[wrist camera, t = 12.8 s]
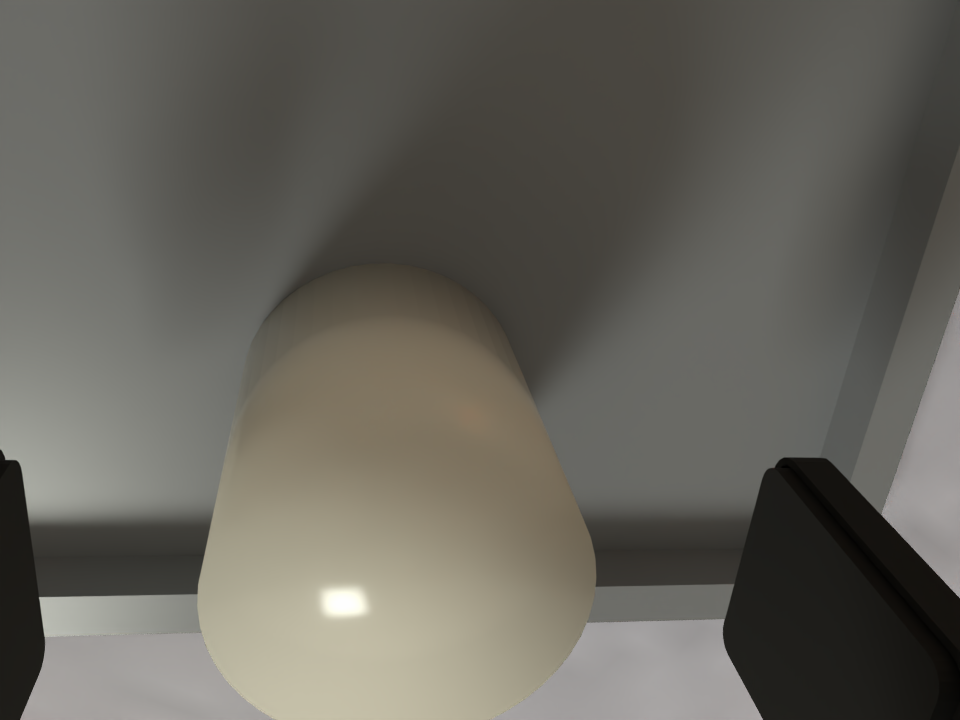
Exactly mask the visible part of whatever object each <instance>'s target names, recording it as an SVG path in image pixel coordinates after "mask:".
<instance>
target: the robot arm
mask: <svg viewBox="0 0 960 720" xmlns="http://www.w3.org/2000/svg"><path fill="white" fill-rule="evenodd" d="M723 638H724V644H725V648H726V651H727V653H728V655H729V657H730V659H731V661H732V663H733V665H734V666H735V668H736V670H737V672H738V674H739V676H740V677H741V679H742V681H743V683H744V685H745V687H746V689H747V690H748V692H749V694H750V696H751V698H752V700H753V702H754V703H755V705H756V707H757V709H758V711H759V713H760V714H761V716H762V718H763V720H960V598H959V597H958V596H957V595H956V594H955V593H954V592H953V591H952V590H951V589H950V588H949V586H948V585H947V584H946V583H945V582H944V581H943V580H942V579H941V578H940V577H939V576H938V575H937V574H936V573H935V572H934V571H933V569H932V568H931V567H930V566H929V565H928V564H927V563H926V562H925V561H924V560H923V559H922V558H921V557H920V556H919V555H918V554H917V553H916V551H915V550H914V549H913V548H912V547H911V546H910V545H909V544H908V543H907V542H906V541H905V540H904V539H903V538H902V537H901V536H900V534H899V533H898V532H897V531H896V530H895V529H894V528H893V527H892V526H891V525H890V524H889V523H888V522H887V521H886V520H885V519H884V518H883V516H882V515H881V514H880V513H879V512H878V511H877V510H876V509H875V508H874V507H873V506H872V505H871V504H870V503H869V502H868V501H867V500H866V498H865V497H864V496H863V495H862V494H861V493H860V492H859V491H858V490H857V489H856V488H855V487H854V486H853V485H852V484H851V483H850V481H849V480H848V479H847V478H846V477H845V476H844V475H843V474H842V473H841V472H840V471H839V470H838V469H837V468H836V467H835V466H834V465H833V463H832V462H830V461H829V460H828V459H826V458H805V457H784V458H782V459H780V460H779V461H778V462H777V464H776V465H775V468H769V469H767V470H766V472H765V473H764V475H763V478H762V481H761V485H760V489H759V493H758V496H757V500H756V504H755V508H754V511H753V515H752V519H751V523H750V527H749V530H748V534H747V538H746V542H745V545H744V549H743V553H742V557H741V561H740V564H739V568H738V572H737V576H736V579H735V583H734V587H733V591H732V595H731V598H730V602H729V606H728V610H727V613H726V617H725V621H724V626H723ZM44 651H45V636H44V629H43V622H42V614H41V607H40V599H39V592H38V585H37V577H36V570H35V563H34V555H33V548H32V541H31V533H30V526H29V519H28V511H27V504H26V497H25V489H24V482H23V475H22V469H21V466H20V464H19V462H18V461H17V460H5V456H4V454H3V452H2V450H0V720H20V718H21V716H22V713H23V711H24V709H25V706H26V704H27V702H28V699H29V697H30V694H31V692H32V690H33V687H34V685H35V683H36V680H37V678H38V675H39V673H40V670H41V667H42V663H43V659H44Z"/></svg>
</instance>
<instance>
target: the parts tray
mask: <svg viewBox="0 0 960 720" xmlns="http://www.w3.org/2000/svg"><path fill="white" fill-rule="evenodd" d="M383 263H391V264H400V265H409V266H413V267H418V268H422V269H426V270H429V271H432V272H435V273H437V274H440V275H443V276H445V277H447V278H449V279H451V280H452V281H454V282H456V283H458V284H460V285H461V286H463V287H464V288H466V289H467V290H468V291H470V292H471V293H473V294H474V295H475V296H476V297H477V298H478V299H479V300H480V301H482V302H483V303H484V304H485V305H486V306H487V307H488V309H489V310H490V311H491V312H492V314H493V315H494V316H495V317H496V319H497V320H498V322H499V323H500V325H501V327H502V328H503V330H504V332H505V334H506V336H507V338H508V341H509V343H510V345H511V348H512V350H513V352H514V355H515V357H516V360H517V362H518V364H519V367H520V369H521V372H522V374H523V376H524V379H525V381H526V383H527V386H528V388H529V391H530V393H531V395H532V398H533V400H534V403H535V405H536V407H537V410H538V412H539V414H540V417H541V419H542V422H543V424H544V426H545V429H546V431H547V434H548V436H549V438H550V441H551V443H552V445H553V448H554V450H555V453H556V455H557V457H558V460H559V462H560V465H561V467H562V469H563V472H564V474H565V476H566V479H567V481H568V484H569V486H570V488H571V491H572V493H573V496H574V498H575V500H576V503H577V505H578V507H579V510H580V512H581V515H582V517H583V519H584V522H585V524H586V527H587V529H588V532H589V534H590V537H591V540H592V545H593V549H594V554H595V560H596V586H595V595H594V600H593V604H592V608H591V611H590V615H589V618H588V621H587V623H590V622H628V621H667V620H705V619H725V617H726V613H727V610H728V606H729V602H730V598H731V595H732V591H733V587H734V583H735V579H736V576H737V572H738V568H739V564H740V561H741V557H742V553H743V549H744V545H745V542H746V538H747V534H748V530H749V527H750V523H751V519H752V515H753V511H754V508H755V504H756V500H757V496H758V493H759V489H760V485H761V481H762V478H763V475H764V473H765V472H766V470H767V469H769V468H775V465H776V464H777V462H778V461H779V460H780V459H782V458H784V457H805V458H826V459H828V460H829V461H830V462H832V463H833V465H834V466H835V467H836V468H837V469H838V470H839V471H840V472H841V473H842V474H843V475H844V476H845V477H846V478H847V479H848V480H849V481H850V483H851V484H852V485H853V486H854V487H855V488H856V489H857V490H858V491H859V492H860V493H861V494H862V495H863V496H864V497H865V498H866V500H867V501H868V502H869V503H870V504H871V505H872V506H873V507H874V508H875V509H876V510H877V511H878V512H879V513H880V514H881V513H882V510H883V507H884V504H885V502H886V499H887V496H888V493H889V490H890V487H891V484H892V482H893V479H894V476H895V473H896V470H897V467H898V464H899V461H900V459H901V456H902V453H903V450H904V447H905V444H906V441H907V438H908V436H909V433H910V430H911V427H912V424H913V421H914V418H915V416H916V413H917V410H918V407H919V404H920V401H921V398H922V395H923V393H924V390H925V387H926V384H927V381H928V378H929V375H930V373H931V370H932V367H933V364H934V361H935V358H936V355H937V352H938V350H939V347H940V344H941V341H942V338H943V335H944V332H945V329H946V327H947V324H948V321H949V318H950V315H951V312H952V309H953V307H954V304H955V301H956V298H957V295H958V292H959V289H960V0H0V450H2V452H3V454H4V456H5V460H17V461H18V462H19V464H20V466H21V469H22V475H23V482H24V489H25V497H26V504H27V511H28V519H29V526H30V533H31V541H32V548H33V555H34V563H35V570H36V577H37V585H38V592H39V599H40V607H41V614H42V622H43V629H44V636H45V637H54V636H92V635H130V634H168V633H202V632H201V629H200V623H199V616H198V608H197V600H198V583H199V578H200V574H201V569H202V564H203V559H204V555H205V550H206V545H207V540H208V536H209V531H210V526H211V521H212V517H213V512H214V507H215V502H216V498H217V493H218V488H219V484H220V479H221V474H222V469H223V465H224V460H225V455H226V450H227V446H228V441H229V436H230V431H231V427H232V422H233V417H234V412H235V408H236V403H237V398H238V393H239V389H240V384H241V379H242V374H243V370H244V365H245V360H246V356H247V354H248V351H249V348H250V346H251V343H252V341H253V339H254V337H255V335H256V333H257V332H258V330H259V328H260V326H261V325H262V324H263V322H264V321H265V320H266V318H267V317H268V316H269V314H270V313H271V312H272V311H273V310H274V309H275V308H276V307H277V306H278V305H279V304H280V303H281V302H282V301H283V300H284V299H285V298H286V297H288V296H289V295H290V294H292V293H293V292H294V291H296V290H297V289H298V288H300V287H302V286H303V285H305V284H307V283H309V282H310V281H312V280H314V279H316V278H318V277H321V276H323V275H326V274H328V273H330V272H333V271H336V270H340V269H344V268H348V267H351V266H358V265H365V264H383Z"/></svg>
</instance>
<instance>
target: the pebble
mask: <svg viewBox="0 0 960 720" xmlns="http://www.w3.org/2000/svg"><path fill="white" fill-rule="evenodd" d="M595 586H596V560H595V554H594V549H593V545H592V540H591V537H590V534H589V532H588V529H587V527H586V524H585V522H584V519H583V517H582V515H581V512H580V510H579V507H578V505H577V503H576V500H575V498H574V496H573V493H572V491H571V488H570V486H569V484H568V481H567V479H566V476H565V474H564V472H563V469H562V467H561V465H560V462H559V460H558V457H557V455H556V453H555V450H554V448H553V445H552V443H551V441H550V438H549V436H548V434H547V431H546V429H545V426H544V424H543V422H542V419H541V417H540V414H539V412H538V410H537V407H536V405H535V403H534V400H533V398H532V395H531V393H530V391H529V388H528V386H527V383H526V381H525V379H524V376H523V374H522V372H521V369H520V367H519V364H518V362H517V360H516V357H515V355H514V352H513V350H512V348H511V345H510V343H509V341H508V338H507V336H506V334H505V332H504V330H503V328H502V327H501V325H500V323H499V322H498V320H497V319H496V317H495V316H494V315H493V314H492V312H491V311H490V310H489V309H488V307H487V306H486V305H485V304H484V303H483V302H482V301H480V300H479V299H478V298H477V297H476V296H475V295H474V294H473V293H471V292H470V291H468V290H467V289H466V288H464V287H463V286H461V285H460V284H458V283H456V282H454V281H452V280H451V279H449V278H447V277H445V276H443V275H440V274H437V273H435V272H432V271H429V270H426V269H422V268H418V267H413V266H409V265H400V264H391V263H383V264H365V265H358V266H351V267H348V268H344V269H340V270H336V271H333V272H330V273H328V274H326V275H323V276H321V277H318V278H316V279H314V280H312V281H310V282H309V283H307V284H305V285H303V286H302V287H300V288H298V289H297V290H296V291H294V292H293V293H292V294H290V295H289V296H288V297H286V298H285V299H284V300H283V301H282V302H281V303H280V304H279V305H278V306H277V307H276V308H275V309H274V310H273V311H272V312H271V313H270V314H269V316H268V317H267V318H266V320H265V321H264V322H263V324H262V325H261V326H260V328H259V330H258V332H257V333H256V335H255V337H254V339H253V341H252V343H251V346H250V348H249V351H248V354H247V356H246V360H245V365H244V370H243V374H242V379H241V384H240V389H239V393H238V398H237V403H236V408H235V412H234V417H233V422H232V427H231V431H230V436H229V441H228V446H227V450H226V455H225V460H224V465H223V469H222V474H221V479H220V484H219V488H218V493H217V498H216V502H215V507H214V512H213V517H212V521H211V526H210V531H209V536H208V540H207V545H206V550H205V555H204V559H203V564H202V569H201V574H200V578H199V583H198V600H197V608H198V616H199V623H200V629H201V632H202V635H203V638H204V641H205V645H206V647H207V649H208V651H209V653H210V655H211V657H212V659H213V661H214V663H215V665H216V667H217V668H218V669H219V671H220V672H221V673H222V675H223V676H224V678H225V679H226V680H227V682H228V683H229V684H230V685H231V686H232V687H233V688H234V689H235V690H236V691H237V692H238V693H239V694H240V695H241V696H242V697H243V698H244V699H245V700H247V701H248V702H249V703H251V704H252V705H253V706H255V707H256V708H257V709H258V710H260V711H261V712H263V713H265V714H266V715H268V716H270V717H272V718H273V719H275V720H490V719H492V718H494V717H496V716H498V715H500V714H502V713H504V712H506V711H507V710H509V709H510V708H512V707H513V706H515V705H517V704H518V703H520V702H521V701H523V700H524V699H526V698H527V697H528V696H529V695H531V694H532V693H533V692H534V691H536V690H537V689H538V688H539V687H541V686H542V685H543V684H544V683H545V682H546V681H547V680H548V679H549V678H550V677H551V676H552V675H553V674H554V673H555V672H556V671H557V670H558V668H559V667H560V666H561V665H562V663H563V662H564V661H565V660H566V658H567V657H568V656H569V654H570V653H571V651H572V650H573V648H574V646H575V645H576V643H577V641H578V640H579V638H580V637H581V634H582V632H583V630H584V627H585V625H586V623H587V621H588V618H589V615H590V611H591V608H592V604H593V600H594V595H595Z"/></svg>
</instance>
